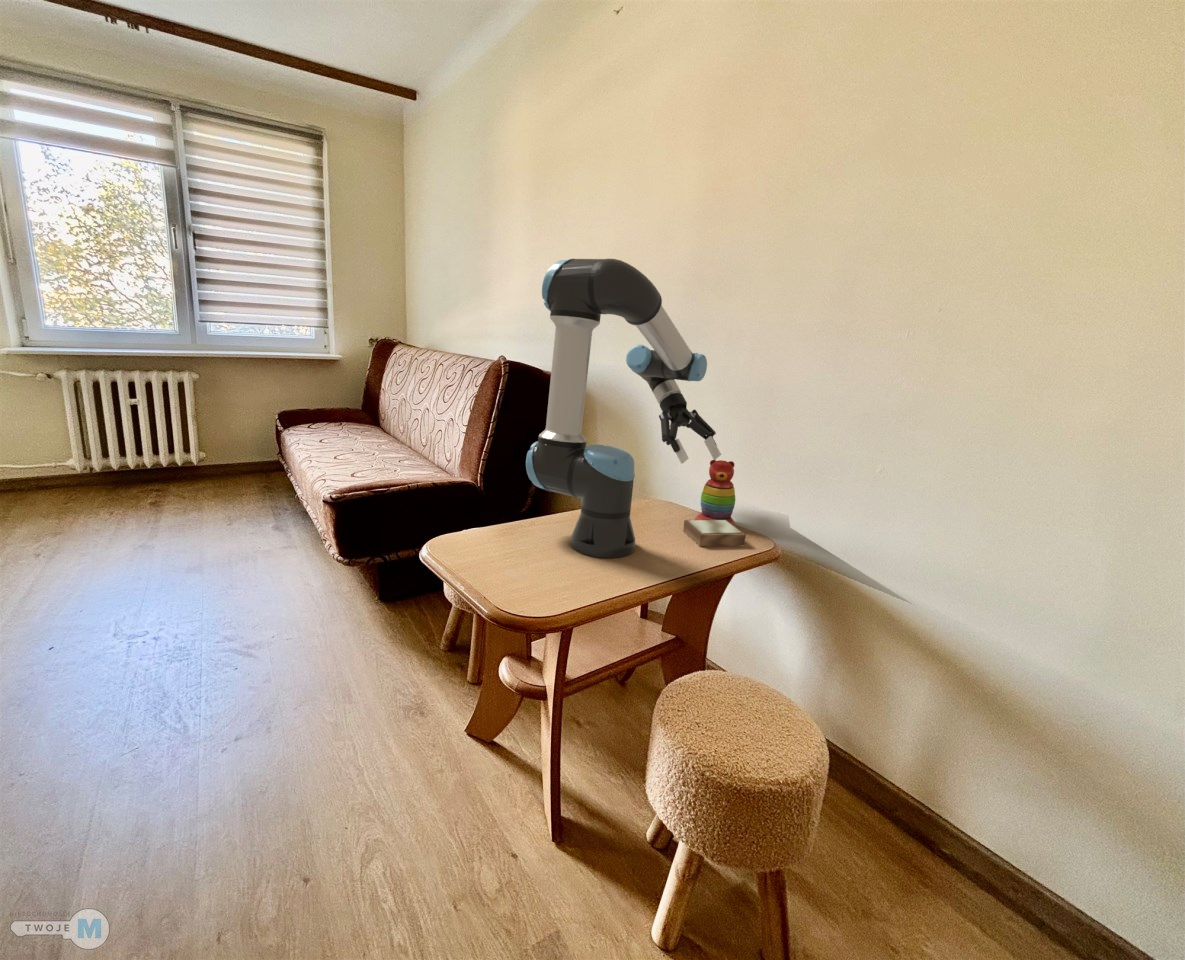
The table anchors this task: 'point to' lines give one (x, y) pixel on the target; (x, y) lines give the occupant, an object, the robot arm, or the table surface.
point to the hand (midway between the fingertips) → (701, 459)
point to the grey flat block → (713, 533)
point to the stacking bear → (718, 493)
